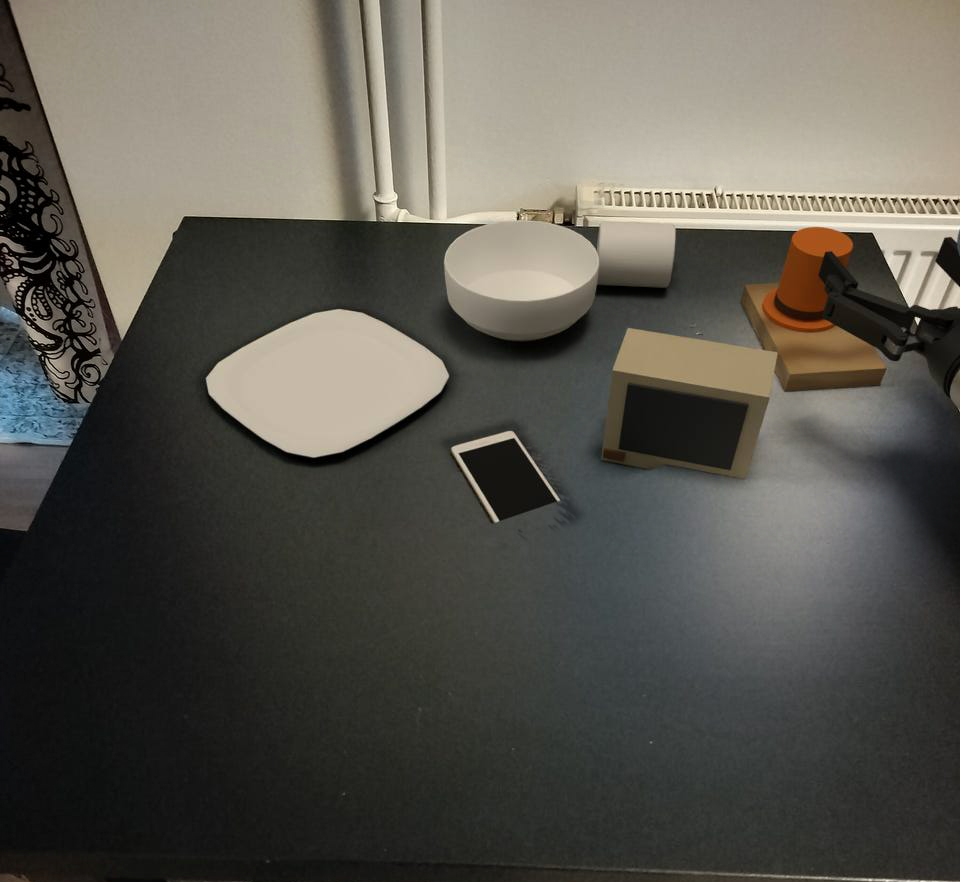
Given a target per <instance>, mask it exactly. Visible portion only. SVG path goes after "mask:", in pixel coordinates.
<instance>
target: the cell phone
mask: <svg viewBox="0 0 960 882" xmlns="http://www.w3.org/2000/svg"><path fill="white" fill-rule="evenodd" d="M450 449H451V454H452V456H453V457H454V459H455V461H456V462H457V464H458V465H459V467H460V469H461V470H462V472H463V474H464V475H465V477H466V479H467V481H468V483H469V484H470V485H471V488H472V489H473V490H474V493H475V494H476V496H477V497H478V499H479V500H480V502H481V504H482V505H483V507H484V509H485V510H486V512H487V513H488V516H489V517H490V519H491V520H492V522H493V524H496V523H498V522H501V521H505V520H507V519H510V518H513V517H517V516H519V515H522V514H524V513H528V512H531V511H534V510H536V509H539V508H543V507H545V506H548V505H551V504H554V503H557V502H559V501H561V499H560V497H559V496H558V495H557V493H556V491H555V490H554V489H553V488H552V485H550V483H549V482H548V480H547V478H546V477H545V475H544V474H543V473H542V471H541V470H540V468H539V467H538V466H537V464H536V462H535V461H534V460H533V458H532V456H531V455H530V454H529V452H528V451H527V449H526V447H524V445H523V444H522V442H521V440H520V439H519V437H518V436H517V435H516V433H515V432H514V431H513V430H507V431H503V432H499V433H495V434H493V435H488V436H486V437H482V438H479V439H474V440H471V441H467V442H464V443H460V444H457V445H453V446H452V447H451V448H450Z"/></svg>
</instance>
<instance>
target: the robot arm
mask: <svg viewBox="0 0 960 882" xmlns="http://www.w3.org/2000/svg"><path fill="white" fill-rule="evenodd" d="M956 239H957V240H955V239H954V238H953V237H952V236H947V237H946V236H945V237H943V240H942V243H941V245H940V247H939V250H938V253H937V255H936V258H935V261H934V262H935V263H936V264H937V265H938V266H939V268H941V270H942V271H943V272H944V273H945V274H946V275H947V276H948V277H949V278H950V279H951V280H952V281H953V282H954V283H955V285H957V287H958V288H960V229H959V230H958V234H957V238H956ZM818 276H819V277H820V279H821V280H822V281H823V282H824V284H825V287H824V291H825V292H826V293H827V295H828V298H827V301H826V305H825V308H824V311H823V314H822V318H824V319H825V320H827V321H829V322H831V323H832V324H834V325H836V326H838V327H840V328H841V329H843V330H845V331H847V332H849V333H850V334H852V335H854V336H856V337H857V338H859V339H861V340H863V341H865V342H866V343H868V344H870V345H872V346H874V348H875V349H877V350H878V351H880V352H881V353H882V354H883V356H885V357H886V358H887V359H888V360H889V361H890V362H899V361H900V360H901V358H902V356H903V354H904V353H909V352H915V353H917V354H918V355H920V356H922V357H924V359H925V360H926V363H927V367H928V371H929V374H930V377H931V378H932V380H933V381H934V382H935V383H936V385H937V386H938V387H939V388H940V390H941V391H942V392H943V393H944V394H945V395H946V396H947V397H948V398H949V399H950V400H951V402H952V403H953V404H954V406H955V407H956V409H957V410H959V411H960V307H958V306H957V305H956V306H949V307H946V308H933V309H929V308H927V307H924V306H921V305H918V304H912V305H911V306H906V305H903V304H900V303H898V302H894V301H892V300H889V299H887V298H884V297H880V296H877V295H876V294H872V293H870V292H866V291H863V290H860V289H858V286H859V282H858V281H857V279H856V278H855V277H854V276H853V275H852V274H851V272H850V271H849V270H848V269H847V267H846V268H845V266H844V265H843V264H842V263H841V262H840V260H839V259H838V258H837V257H836V256H835V254H834V253H833V252H832V251H829V252H825V254H824V258H823V261H822V264H821V268H820V271H819V275H818ZM916 318H917V319H919V321H918V323H917V326H916V329H915V332H914V333H913V332H911V328H912V326H913V324H914V321H915V319H916Z"/></svg>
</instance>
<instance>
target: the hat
mask: <svg viewBox="0 0 960 882" xmlns="http://www.w3.org/2000/svg"><path fill="white" fill-rule="evenodd" d="M788 247H789V248H788V251H787V255H786V259H785V261H784V265H783V270H782V272H781V277H780V280H779V282H778V283H779V287H778V288H776V289H774V290H772V291H770V292H769V293H768V294H767V295H766V296H765V298H764V300H763V304H762V308H763V312H764V314H765V315H766V316H767V317H768V318H769V319H770V320H771V321H772V322H774V323H775V324H777V325H779V326H781V327H784V328H786V329H790V330H794V331H799V332H820V331H825V330H828V329H830V328H832V327H834V326H836V325H834V324H832V323H831V322H829V321H827V320H825V319H824V318H822V314H823V311H824V308H825V305H826V301H827V298H828V295H827V293H826V292H825V291H824V287H825V284H824V282H823V281H822V280H821V279H820V277H819V276H818V275H819V271H820V268H821V264H822V261H823V258H824V254H825V252H829V251H832V252H833V253H834V254H835V256H836V257H837V258H838V259H839V260H840V262H841V263H842V264H843V265H844V266H845V268H846V269H847V266H848V263H849V260H850V257H851V254H852V251H853V247H854V243H853V241H852V239H851V238H850V237H849V236H848V235H847V234H845V233H843V232H841V231H839V230H837V229H833V228H829V227H824V226H823V227H822V226H810V227H809V226H808V227H804V228H801V229H798V230H797V231H796V232H794V233H793V234H792V237H791V240H790V244H789V246H788Z"/></svg>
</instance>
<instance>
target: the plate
mask: <svg viewBox="0 0 960 882" xmlns="http://www.w3.org/2000/svg"><path fill="white" fill-rule="evenodd" d="M449 378H450V374H449V372H448V370H447V368H446V366H445V364H444V362H443V360H442V358H439V357H438V356H437V355H436V354H435V353H433V352H432V351H431V350H430V349H428V348H426V346H424V345H422V344H421V343H419V342H418V341H416V340H414V339H413V338H411V337H409V336H408V335H406V334H404V333H403V332H401V331H399V330H398V329H396V328H394V327H392V326H390V325H389V324H387V323H385V322H384V321H381V320H379V319H376V318H375V317H372V316H370V315H368V314H367V313H364V312H360V311H359V312H358V311H353V310H348V309H342V308H336V309H331V310H330V309H329V310H326V311H319V312H314V313H311V314H308V315H306V316H304V317H302V318H299V319H297V320H295V321H291V322H289V323H287V324H285V325H283V326H280V327H278V328H277V329H275V330H272V331H271V332H269V333H267V334H265V335H264V336H262V337H259V338H256V340H254V341H252V342H250V343H248V344H246V345H244V346H242V347H241V348H239V349H237V350H236V351H235V352H232V353H231V354H229V355H228V356H226V357H225V358H223V359H222V360H220V361H218V362H217V363H216V365H215V366H214V367H213V369H212V370H211V371H210V372H209V373H208V375H207V376H206V377H205V381H206V386H207V391H208V395H209V396H210V398H211V399H213V401H214V402H215V403H216V404H217V405H218V406H219V407H220V408H221V409H222V410H223V411H224V412H225V413H227V414H228V415H229V416H230V417H232V418H233V419H235V421H237V422H238V423H239V424H241V425H242V426H243V427H245V428H246V429H247V430H248V431H250V432H252V433H253V434H254V435H256V436H257V437H258V438H260V439H261V440H263V441H264V442H266V443H268V444H269V445H272V446H273V447H275V448H277V449H278V450H280V451H282V452H284V453H285V454H288V455H294V456H298V457H304V458H309V459H314V460H315V459H319V458H323V457H324V458H325V457H330V456H335V455H340V454H343V453H346V452H348V451H350V450H352V449H354V448H356V447H358V446H360V445H363V444H364V443H367V442H368V441H370V440H372V439H374V438H375V437H378V436H379V435H380V434H382V433H384V432H385V431H388V430H389V429H391V428H392V427H394V426H396V425H397V424H399V423H401V422H402V421H403V420H406V419H407V418H408V417H410V416H412V415H413V414H415V413H416V412H418V411H419V410H421V409H423V408H424V407H425V406H426V405H427V404H429V403H430V402H431V401H433V400H435V398H437V397H438V396H439V395H440V394H441V393H442V392H443V389H444V388H445V386H446V384H447V382H448V380H449Z"/></svg>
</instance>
